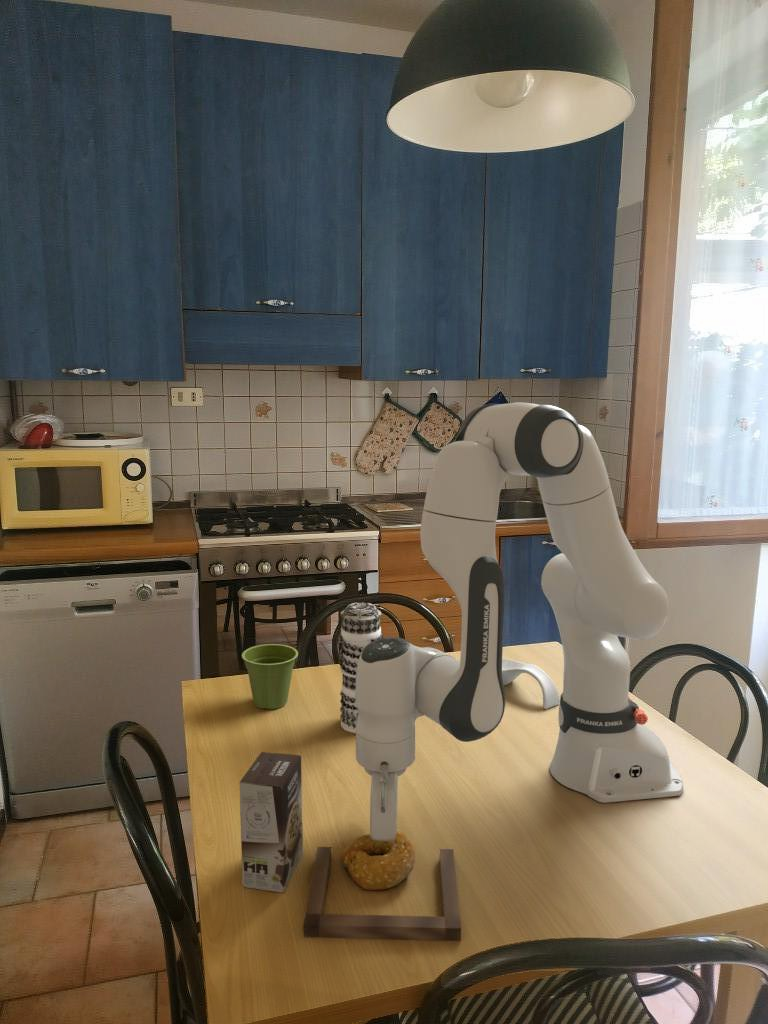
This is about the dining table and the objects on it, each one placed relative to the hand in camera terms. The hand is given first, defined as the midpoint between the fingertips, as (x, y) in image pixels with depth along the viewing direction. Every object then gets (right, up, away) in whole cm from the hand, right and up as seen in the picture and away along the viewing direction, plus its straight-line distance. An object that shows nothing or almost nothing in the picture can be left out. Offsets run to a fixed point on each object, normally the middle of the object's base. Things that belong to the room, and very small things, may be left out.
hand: (385, 831), depth 116 cm
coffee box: (-16, -4, -6) cm, 17 cm away
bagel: (-1, -3, -6) cm, 7 cm away
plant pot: (-24, +7, +49) cm, 55 cm away
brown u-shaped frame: (0, -4, -11) cm, 12 cm away
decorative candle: (-5, +5, +39) cm, 40 cm away
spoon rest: (+29, +8, +56) cm, 64 cm away
